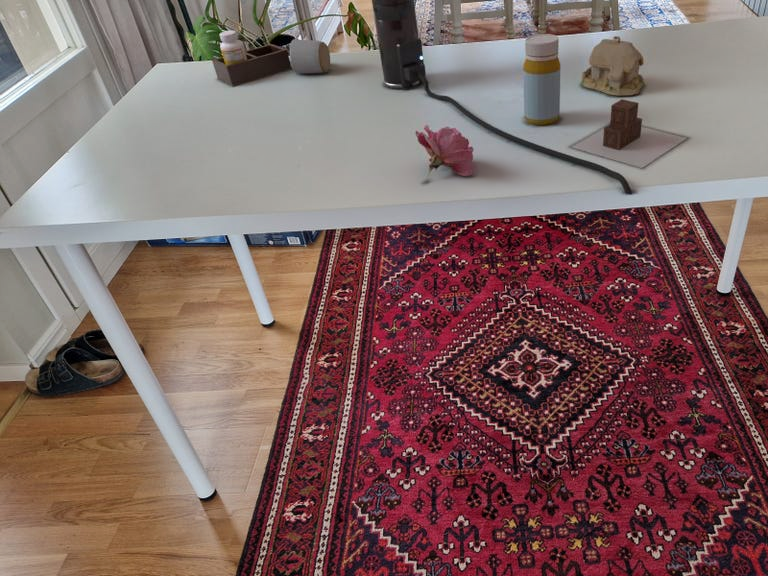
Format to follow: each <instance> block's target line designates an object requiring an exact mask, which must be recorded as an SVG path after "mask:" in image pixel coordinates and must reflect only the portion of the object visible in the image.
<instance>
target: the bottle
mask: <svg viewBox="0 0 768 576" xmlns="http://www.w3.org/2000/svg"><path fill="white" fill-rule="evenodd" d="M559 40H560V39H559V36H557V35H555V34H551V33H538V34H532V35H529V36H527V37H525V40H524V51H525V53H524V54H525V60H524V62H523V66H522V67H523V70H522V72H523V73H522V74H523V117H524V120H525V121H526V122H527V124H528V123H529V124H530V125H534V126H548V125H552V124H553V123H556V122H557V121H558V119H559V118H560V111H561V109H560V108H561V61H560V59H559V48H560V47H559V46H560V45H559V43H560V41H559Z"/></svg>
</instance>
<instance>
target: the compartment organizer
mask: <svg viewBox="0 0 768 576" xmlns="http://www.w3.org/2000/svg"><path fill="white" fill-rule="evenodd" d="M245 53H246V57H247V60H245V61H242V62H238V63H235V64H231V65H226V64H225V61H224V58H223V56H221V57H218V58H214V59H211V62H212V65H213V68H214V71H215V74H216V77H217V80H218V81H221V82H223V83H225V84H227V85H229V86H231V87H235V86H238V85H242V84H246V83H248V82H251V81H255V80H259V79H262V78H265V77H269V76H272V75H275V74H279V73H282V72H285V71H289V70H293V68H292V65H291V60H290V55H289V52H288V49H286V48H283V47H281V46H278V45H275V44H272V43H268V44H266V45H261V46H258V47H255V48H251V49H247V50H245Z"/></svg>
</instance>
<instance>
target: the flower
mask: <svg viewBox="0 0 768 576" xmlns="http://www.w3.org/2000/svg"><path fill="white" fill-rule="evenodd" d="M423 130H425V132H426V133H427V134H426V133H424V132H422V131H418V130H415V132H414V133H415V136H416V138H417V142H418V143H419V144H420V146H422V147H423V148H424V149H425V151H426V153H427V154H428V155H429V156H430V158H428V161H429V162H430V163H429V165H428V169H429V171H428V175H427V177H426V178H425V181H424V182H425V183H426V182H427V180H428V179H429V176H430V173H431V171H432V170H433V169H435V170H434V171H435V172H436V171H437V169H439V167H441V166H443V167H451V169H452V170H453V171H454V172H455V173H456V174H458V175H460V176H462V177H468V176H471V175H473V172H474V162H473V160H474V153H473V152H474V147H473V146H469V145H470V140H469V139H468V138H466V136H463V134H462V133H461V132H460V131H459V130H458V129H457V128H456V127H454V128H451V127H450V126H445V127H441V128H439V130H438V131H433V130H431V129H430V128H429V125H428V124H426V125H424V127H423Z"/></svg>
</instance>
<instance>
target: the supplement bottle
mask: <svg viewBox="0 0 768 576" xmlns="http://www.w3.org/2000/svg"><path fill="white" fill-rule="evenodd" d="M218 35H219V38H220V41H221V43H220V45H219V46H220V47H219V48H220V51H221V54H222V57H223V58H224V61H225V64H226V65H231V64H235V63H238V62H242V61H245V60H247V57H246V53H245V51H246V50H245V47H244V44H243V41H241V40H239V39H238V38H239V37H238V33H237V31H236V30H225V31H222V32H220V33H219V34H218Z"/></svg>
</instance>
